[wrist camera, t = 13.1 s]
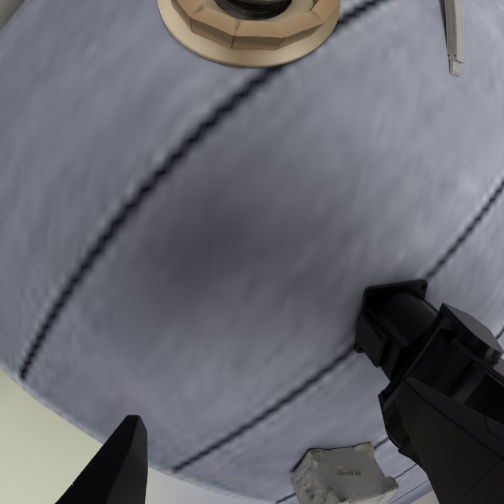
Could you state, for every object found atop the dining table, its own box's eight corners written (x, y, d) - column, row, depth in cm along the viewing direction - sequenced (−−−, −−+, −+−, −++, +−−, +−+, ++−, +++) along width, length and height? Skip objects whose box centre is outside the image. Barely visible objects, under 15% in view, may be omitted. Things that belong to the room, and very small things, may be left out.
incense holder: (375, 436, 32) (404, 493, 22) (344, 467, 34) (366, 520, 25) (313, 440, 30) (339, 510, 20) (286, 472, 32) (303, 533, 23)
